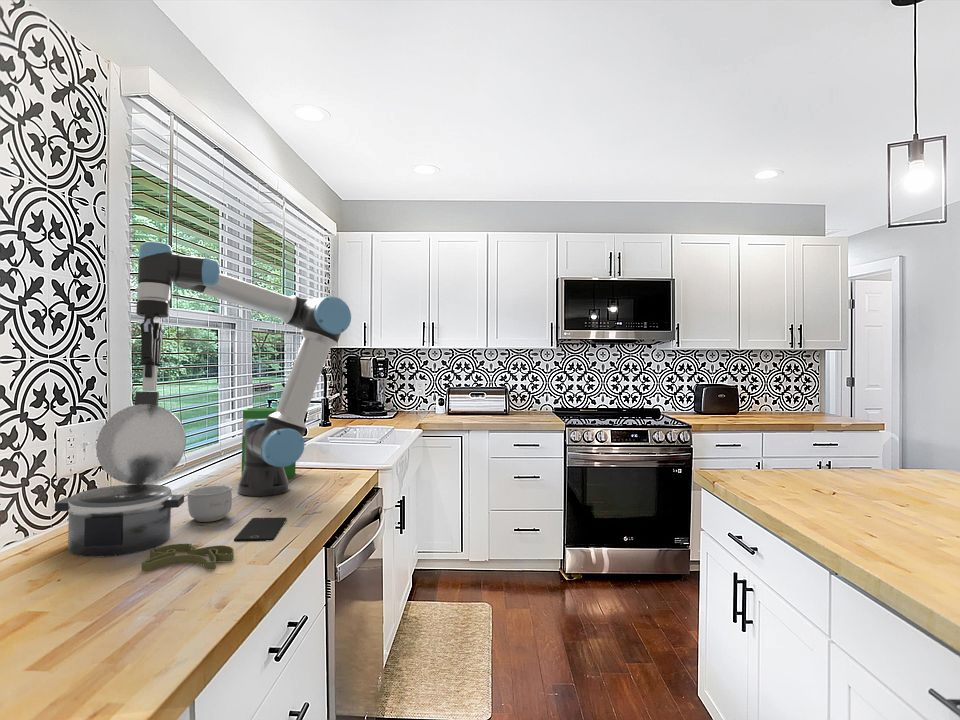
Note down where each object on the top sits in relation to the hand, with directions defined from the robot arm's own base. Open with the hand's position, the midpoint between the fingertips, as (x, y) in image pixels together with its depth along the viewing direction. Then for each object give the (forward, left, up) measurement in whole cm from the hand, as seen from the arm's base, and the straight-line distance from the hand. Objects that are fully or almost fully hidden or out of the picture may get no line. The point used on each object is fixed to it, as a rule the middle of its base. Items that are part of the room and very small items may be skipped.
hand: (149, 390), depth 151 cm
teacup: (-16, 0, -34) cm, 38 cm away
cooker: (0, +18, -34) cm, 38 cm away
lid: (0, +5, -11) cm, 13 cm away
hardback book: (-24, -52, -34) cm, 67 cm away
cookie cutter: (-18, +33, -34) cm, 51 cm away
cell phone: (-30, +13, -34) cm, 47 cm away
